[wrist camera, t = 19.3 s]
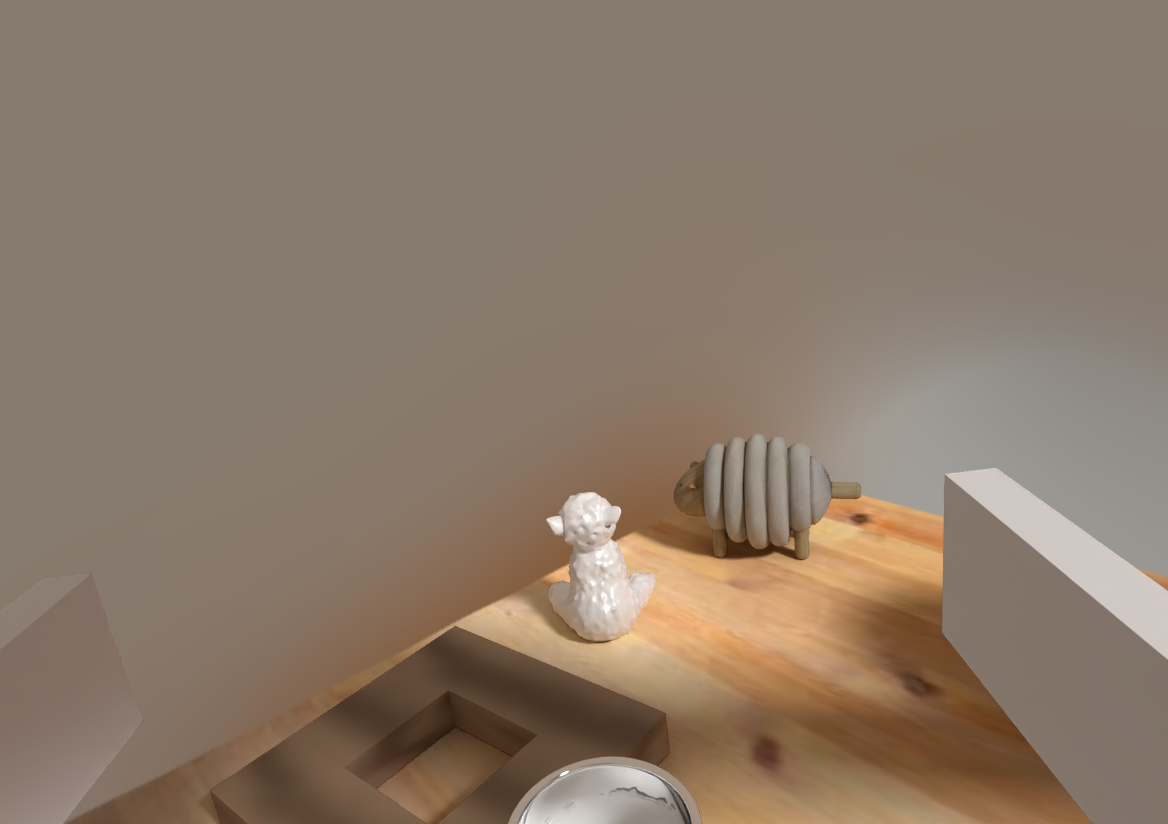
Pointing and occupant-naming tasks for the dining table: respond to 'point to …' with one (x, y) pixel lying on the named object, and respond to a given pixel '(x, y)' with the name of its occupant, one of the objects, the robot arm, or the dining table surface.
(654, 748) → the pocket board
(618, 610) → the seated beast figurine
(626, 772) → the silver tumbler
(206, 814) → the dining table surface
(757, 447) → the toy sheep
